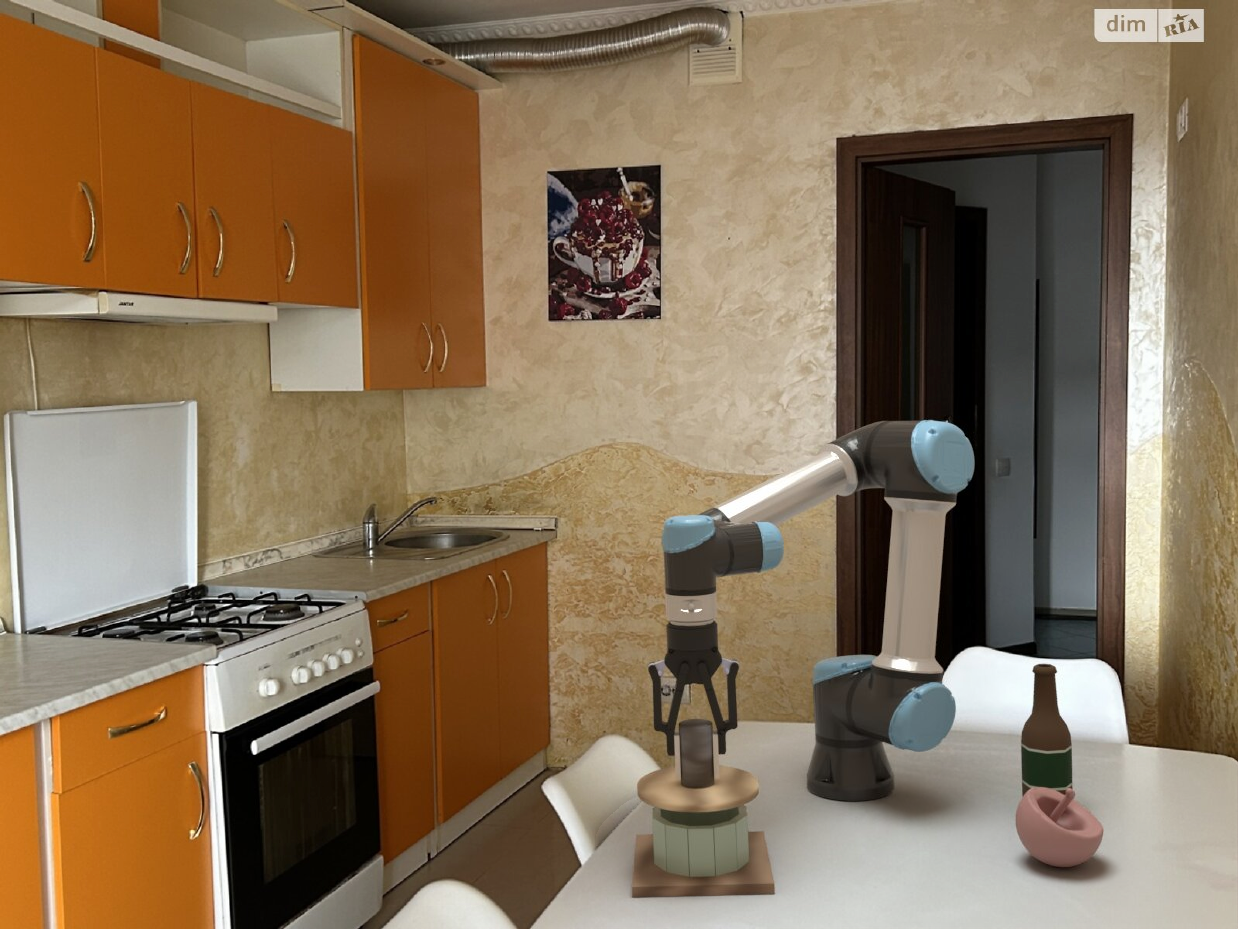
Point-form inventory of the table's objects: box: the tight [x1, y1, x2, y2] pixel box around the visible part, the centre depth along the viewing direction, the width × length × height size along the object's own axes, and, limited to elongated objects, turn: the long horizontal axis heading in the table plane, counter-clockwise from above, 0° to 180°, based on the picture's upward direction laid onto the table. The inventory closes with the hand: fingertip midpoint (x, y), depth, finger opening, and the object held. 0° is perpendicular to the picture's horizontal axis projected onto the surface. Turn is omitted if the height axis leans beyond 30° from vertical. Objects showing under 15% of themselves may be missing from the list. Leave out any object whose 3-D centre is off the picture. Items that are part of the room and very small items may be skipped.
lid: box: [636, 718, 760, 812], centre depth 179 cm, size 18×18×10 cm
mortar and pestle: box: [1014, 787, 1105, 868], centre depth 175 cm, size 12×12×12 cm
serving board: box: [631, 830, 776, 898], centre depth 180 cm, size 20×20×2 cm
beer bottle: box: [1020, 663, 1074, 798], centre depth 196 cm, size 8×8×24 cm
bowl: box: [651, 804, 749, 877], centre depth 179 cm, size 14×14×7 cm
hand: (697, 775), depth 179 cm, fingers closed on lid, 5 cm apart
